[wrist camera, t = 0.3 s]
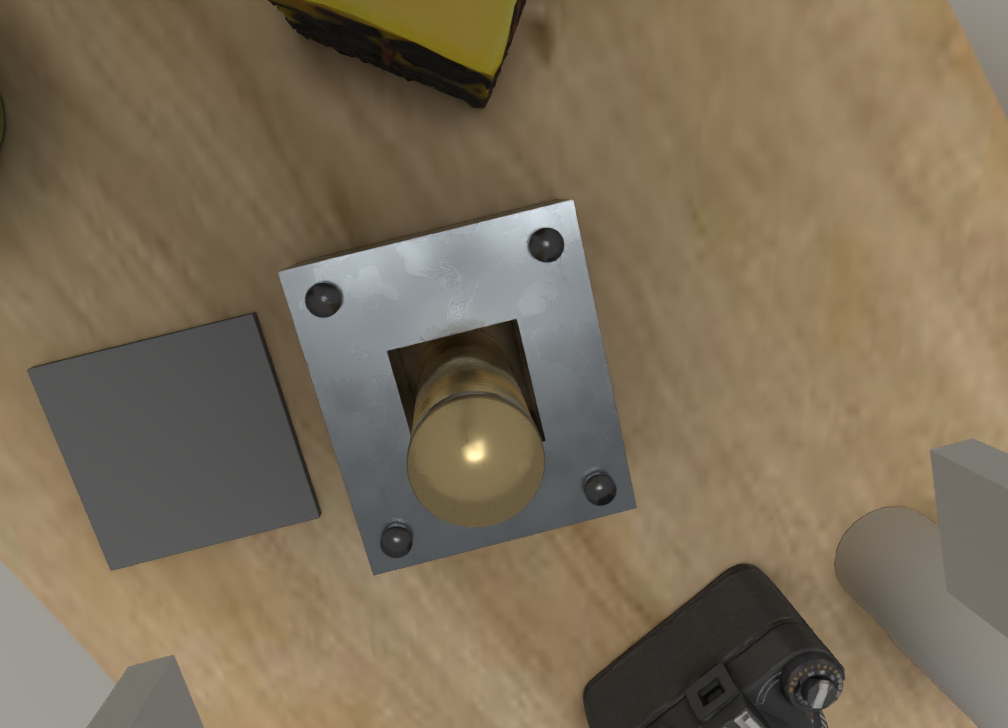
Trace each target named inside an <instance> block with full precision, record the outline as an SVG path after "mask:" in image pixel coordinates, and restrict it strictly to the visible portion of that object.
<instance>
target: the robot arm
mask: <svg viewBox="0 0 1008 728" xmlns="http://www.w3.org/2000/svg"><path fill="white" fill-rule="evenodd" d="M930 453H931V462H932V471H933V479H934V488H935V496H936V505H937V514H938V522H939V531H940V539H941V548H942V557H943V565H944V574H945V582H946V591H947V592H948V593H949V594H951V595H952V596H953V597H954V598H956V599H957V600H958V601H960V602H961V603H962V604H964V605H965V606H966V607H967V608H969V609H970V610H971V611H973V612H974V613H975V614H977V615H978V616H979V617H980V618H982V619H983V620H984V621H986V622H987V623H988V624H990V625H991V626H992V627H994V628H995V629H996V630H997V631H999V632H1000V633H1001V634H1003V635H1004V636H1005V637H1007V638H1008V454H1007V453H1005V452H1003V451H1001V450H998V449H996V448H994V447H991V446H989V445H987V444H985V443H982V442H980V441H978V440H975V439H969V440H965V441H962V442H958V443H954V444H951V445H947V446H943V447H940V448H936V449H932V450H930ZM87 728H204V727H203V724H202V722H201V719H200V717H199V714H198V712H197V710H196V707H195V705H194V702H193V700H192V697H191V695H190V693H189V690H188V688H187V685H186V683H185V680H184V678H183V675H182V673H181V671H180V668H179V666H178V663H177V661H176V658H175V656H174V655H170V656H167V657H163V658H159V659H156V660H152V661H148V662H145V663H141V664H137V665H133V666H130V667H128V668H127V670H126V671H125V673H124V674H123V676H122V677H121V679H120V680H119V681H118V683H117V684H116V686H115V687H114V689H113V690H112V692H111V693H110V695H109V696H108V698H107V699H106V700H105V702H104V703H103V705H102V706H101V708H100V709H99V711H98V712H97V713H96V715H95V716H94V718H93V719H92V721H91V722H90V724H89V725H88V726H87Z"/></svg>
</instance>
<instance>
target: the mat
mask: <svg viewBox="0 0 1008 728" xmlns="http://www.w3.org/2000/svg"><path fill="white" fill-rule="evenodd" d="M27 371H28V374H29V376H30V379H31V381H32V383H33V386H34V388H35V391H36V393H37V395H38V398H39V400H40V403H41V405H42V407H43V410H44V412H45V415H46V417H47V419H48V422H49V424H50V427H51V429H52V431H53V434H54V436H55V439H56V441H57V443H58V446H59V448H60V450H61V453H62V455H63V458H64V460H65V462H66V465H67V467H68V470H69V472H70V474H71V477H72V479H73V482H74V484H75V486H76V489H77V491H78V494H79V496H80V498H81V501H82V503H83V506H84V508H85V510H86V513H87V515H88V518H89V520H90V522H91V525H92V527H93V529H94V532H95V534H96V537H97V539H98V541H99V544H100V546H101V549H102V551H103V553H104V556H105V558H106V561H107V563H108V565H109V568H110V570H111V571H112V570H116V569H120V568H124V567H128V566H132V565H135V564H139V563H143V562H147V561H151V560H155V559H159V558H163V557H167V556H171V555H175V554H179V553H183V552H187V551H191V550H194V549H198V548H202V547H206V546H210V545H214V544H218V543H222V542H226V541H230V540H234V539H238V538H242V537H246V536H249V535H253V534H257V533H261V532H265V531H269V530H273V529H277V528H281V527H285V526H289V525H293V524H297V523H301V522H305V521H308V520H312V519H316V518H320V515H321V511H320V508H319V505H318V502H317V499H316V495H315V492H314V489H313V486H312V483H311V480H310V477H309V474H308V471H307V468H306V465H305V462H304V459H303V456H302V453H301V450H300V447H299V444H298V441H297V438H296V434H295V431H294V428H293V425H292V422H291V419H290V416H289V413H288V410H287V407H286V404H285V401H284V398H283V395H282V392H281V389H280V386H279V383H278V380H277V376H276V373H275V370H274V367H273V364H272V361H271V358H270V355H269V352H268V349H267V346H266V343H265V340H264V337H263V334H262V331H261V328H260V325H259V322H258V319H257V315H256V312H254V313H250V314H246V315H242V316H238V317H234V318H230V319H226V320H222V321H218V322H214V323H210V324H206V325H202V326H198V327H193V328H189V329H185V330H181V331H177V332H173V333H169V334H165V335H161V336H157V337H153V338H149V339H145V340H141V341H137V342H133V343H129V344H124V345H120V346H116V347H112V348H108V349H104V350H100V351H96V352H92V353H88V354H84V355H80V356H76V357H72V358H68V359H64V360H60V361H55V362H51V363H47V364H43V365H39V366H35V367H32V368H30V369H27Z"/></svg>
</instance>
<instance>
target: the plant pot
mask: <svg viewBox="0 0 1008 728" xmlns="http://www.w3.org/2000/svg"><path fill="white" fill-rule="evenodd" d="M3 132H4V114H3V107H2V103H1V99H0V144H1V142H2V138H3Z"/></svg>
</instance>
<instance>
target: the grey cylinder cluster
mask: <svg viewBox="0 0 1008 728" xmlns="http://www.w3.org/2000/svg"><path fill="white" fill-rule="evenodd" d="M835 569H836V574H837V579H838V580H839V582H840V583H841V585H842V586H843V588H844V590H845V591H846V592H847V593H848V594H849V595H850V596H852V597H853V598H854V599H855V600H856V601H857V602H858V603H859V604H860V605H861V606H862V607H863V608H864V609H865V610H866V611H867V612H868V613H869V614H870V615H871V616H872V617H873V618H874V619H875V620H876V621H877V622H878V623H879V624H880V625H881V626H882V627H883V628H884V629H885V630H886V631H887V632H888V635H889V637H890V638H891V640H892V641H893V643H894V644H895V645H896V646H897V647H898V648H899V649H900V650H901V651H902V652H903V653H904V654H905V655H906V656H907V657H908V658H909V659H910V660H911V661H912V662H913V663H914V664H915V665H916V666H917V667H918V668H919V669H920V670H921V671H922V672H923V673H924V674H925V675H926V676H927V677H928V678H929V679H930V680H931V681H932V682H933V683H934V684H935V685H936V686H937V687H938V688H939V689H940V690H941V691H942V692H943V693H944V694H945V695H946V696H947V697H948V698H949V699H950V700H951V701H952V702H953V703H954V704H955V705H956V706H957V707H958V708H959V709H961V710H962V711H963V712H964V713H965V714H966V715H967V716H968V717H969V718H970V719H971V720H972V721H973V722H974V723H975V724H976V725H977V726H978V727H979V728H1008V638H1007V637H1005V636H1004V635H1003V634H1001V633H1000V632H999V631H997V630H996V629H995V628H994V627H992V626H991V625H990V624H988V623H987V622H986V621H984V620H983V619H982V618H980V617H979V616H978V615H977V614H975V613H974V612H973V611H971V610H970V609H969V608H967V607H966V606H965V605H964V604H962V603H961V602H960V601H958V600H957V599H956V598H954V597H953V596H952V595H951V594H949V593H948V592H947V591H946V582H945V574H944V565H943V557H942V548H941V539H940V531H939V526H938V525H936V524H935V523H933V522H932V521H930V520H929V519H927V518H926V517H924V516H923V515H921V514H920V513H918V512H917V511H914V510H911V509H908V508H904V507H885V508H882V509H879V510H876V511H873V512H870V513H868V514H867V515H865V516H864V517H862V518H861V519H859V520H858V521H856V522H855V523H854V524H853V525H852V526H851V528H850V529H849V530H848V531H847V532H846V533H845V534H844V536H843V538H842V540H841V542H840V544H839V546H838V548H837V553H836V559H835Z"/></svg>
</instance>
